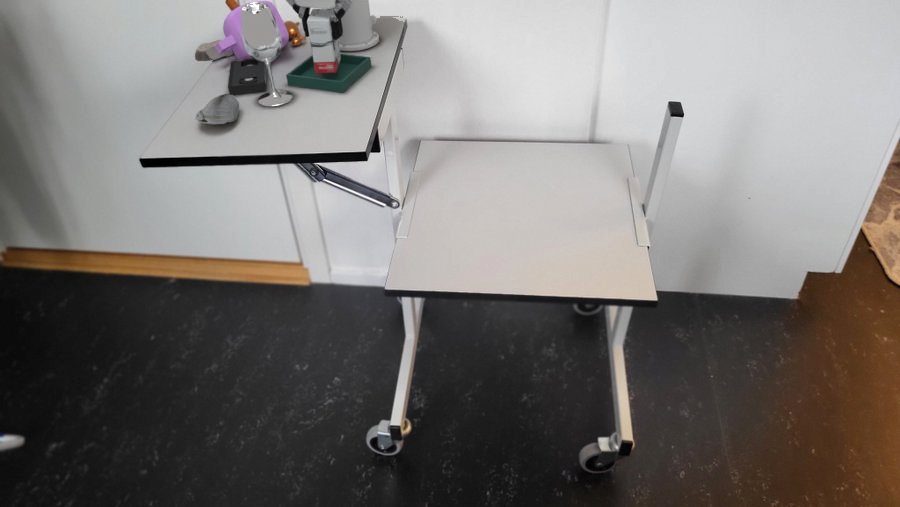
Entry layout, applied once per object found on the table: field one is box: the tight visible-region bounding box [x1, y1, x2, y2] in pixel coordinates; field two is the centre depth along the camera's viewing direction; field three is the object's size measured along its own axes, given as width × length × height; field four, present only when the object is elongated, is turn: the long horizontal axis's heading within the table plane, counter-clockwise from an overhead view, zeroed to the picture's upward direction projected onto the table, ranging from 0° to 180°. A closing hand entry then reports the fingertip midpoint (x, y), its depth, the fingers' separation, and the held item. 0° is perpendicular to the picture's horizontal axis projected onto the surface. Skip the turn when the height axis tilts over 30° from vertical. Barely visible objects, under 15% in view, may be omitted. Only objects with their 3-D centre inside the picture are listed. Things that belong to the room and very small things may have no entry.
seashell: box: [195, 93, 240, 125], centre depth 137 cm, size 12×8×5 cm
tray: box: [285, 53, 372, 94], centre depth 153 cm, size 14×14×2 cm
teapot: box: [215, 0, 290, 61], centre depth 160 cm, size 20×12×13 cm
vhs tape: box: [227, 59, 268, 96], centre depth 153 cm, size 14×8×2 cm, turn 12°
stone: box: [194, 39, 234, 62], centre depth 165 cm, size 12×5×3 cm, turn 131°
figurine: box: [284, 20, 307, 47], centre depth 171 cm, size 12×4×11 cm
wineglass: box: [241, 1, 294, 108], centre depth 139 cm, size 8×8×20 cm
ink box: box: [307, 8, 341, 73], centre depth 148 cm, size 8×5×12 cm, turn 0°
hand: (323, 35), depth 147 cm, fingers closed on ink box, 6 cm apart
